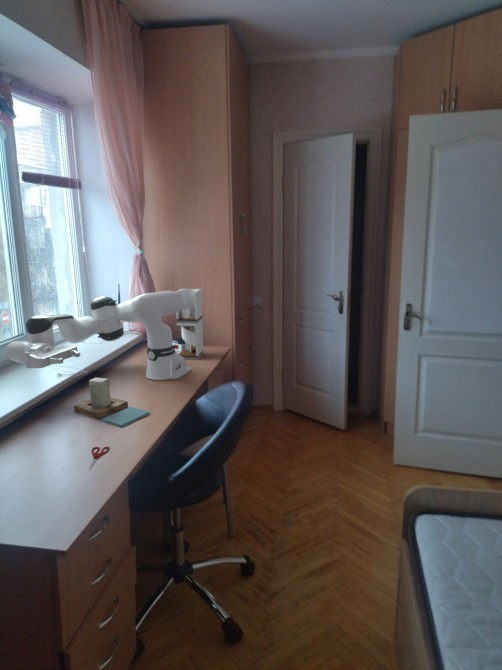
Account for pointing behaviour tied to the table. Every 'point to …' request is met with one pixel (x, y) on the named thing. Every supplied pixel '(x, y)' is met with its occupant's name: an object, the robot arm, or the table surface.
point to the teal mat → (125, 416)
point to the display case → (191, 323)
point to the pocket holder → (101, 413)
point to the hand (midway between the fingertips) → (70, 358)
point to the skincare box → (99, 392)
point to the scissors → (96, 455)
